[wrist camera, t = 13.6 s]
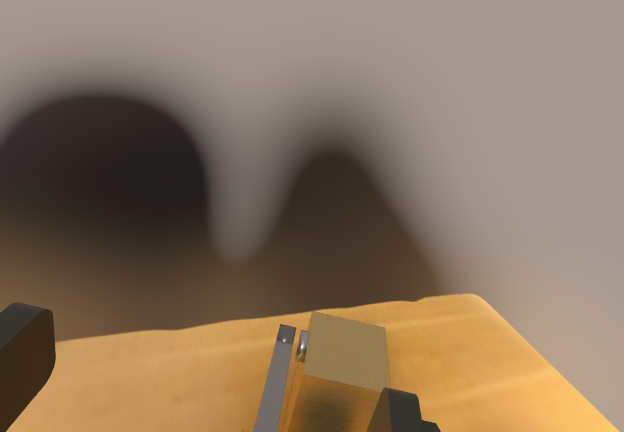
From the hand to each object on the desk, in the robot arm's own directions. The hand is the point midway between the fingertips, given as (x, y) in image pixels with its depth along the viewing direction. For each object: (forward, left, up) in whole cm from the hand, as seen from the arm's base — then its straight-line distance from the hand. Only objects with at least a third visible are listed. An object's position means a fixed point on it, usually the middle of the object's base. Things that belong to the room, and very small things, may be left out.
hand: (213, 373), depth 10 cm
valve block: (+8, +26, -36) cm, 45 cm away
